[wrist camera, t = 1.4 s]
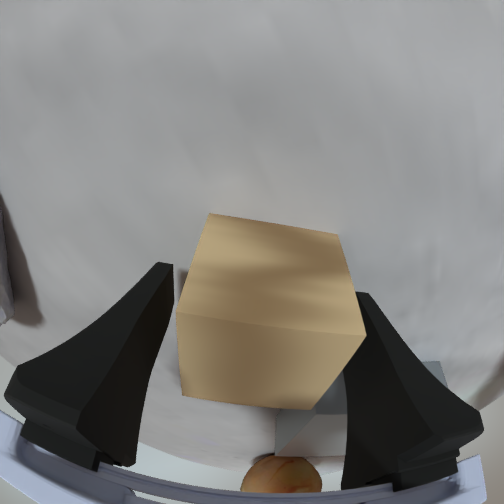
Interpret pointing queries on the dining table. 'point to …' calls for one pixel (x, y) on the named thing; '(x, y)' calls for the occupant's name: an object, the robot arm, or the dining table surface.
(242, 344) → the oak cube
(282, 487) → the onion
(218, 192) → the dining table surface
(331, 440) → the slate block
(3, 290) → the stone block
